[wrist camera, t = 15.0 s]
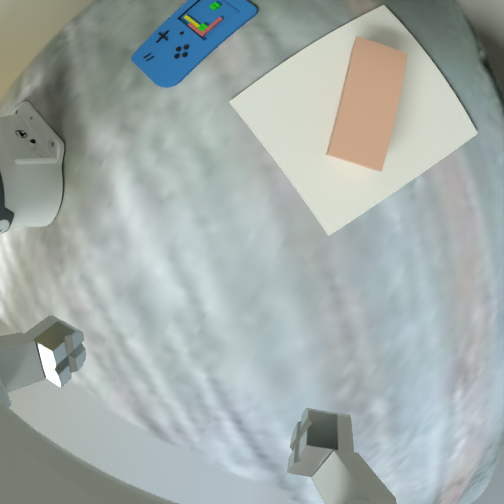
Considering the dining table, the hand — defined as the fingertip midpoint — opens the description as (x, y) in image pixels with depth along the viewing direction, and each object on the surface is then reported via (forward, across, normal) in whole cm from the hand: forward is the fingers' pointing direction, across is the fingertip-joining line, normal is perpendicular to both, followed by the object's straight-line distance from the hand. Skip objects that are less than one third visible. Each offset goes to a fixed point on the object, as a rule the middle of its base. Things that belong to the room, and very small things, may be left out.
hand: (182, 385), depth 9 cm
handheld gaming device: (+27, +14, -20) cm, 37 cm away
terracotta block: (+22, -6, -8) cm, 25 cm away
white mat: (+26, -7, -14) cm, 30 cm away
